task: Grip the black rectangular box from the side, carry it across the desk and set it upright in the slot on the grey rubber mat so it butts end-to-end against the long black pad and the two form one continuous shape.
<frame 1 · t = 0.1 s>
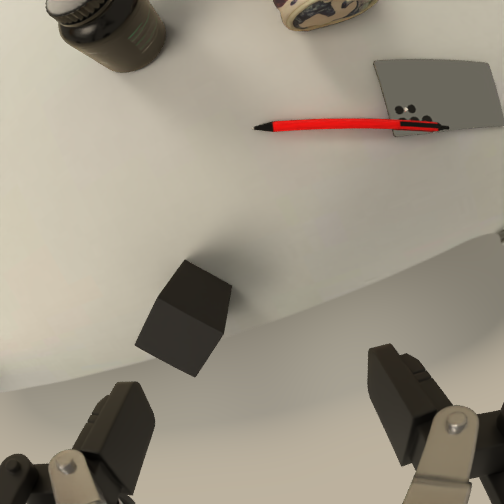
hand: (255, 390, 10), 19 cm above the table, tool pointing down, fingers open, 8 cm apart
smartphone: (447, 94, 24), on the table, touching pen
black rectangular box: (197, 292, 29), on the table
pen: (359, 124, 25), on the table, touching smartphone
supplement bottle: (134, 43, 23), on the table
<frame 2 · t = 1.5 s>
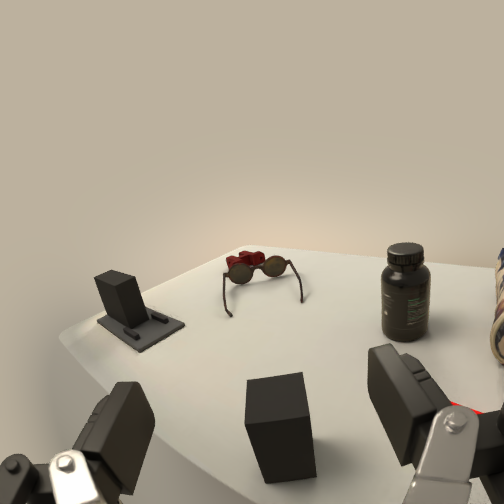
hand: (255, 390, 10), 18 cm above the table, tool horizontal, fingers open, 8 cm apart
pad dock: (147, 330, 54), on the table
black rectangular box: (289, 460, 24), on the table
eyeglasses: (262, 294, 61), on the table
supplement bottle: (404, 330, 39), on the table
bracket: (243, 266, 79), on the table
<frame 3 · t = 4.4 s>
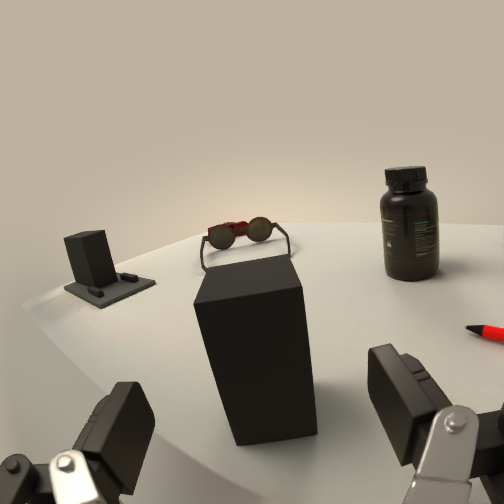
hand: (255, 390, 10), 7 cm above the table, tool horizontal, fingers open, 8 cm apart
pad dock: (114, 290, 47), on the table
black rectangular box: (274, 412, 17), on the table
eyeglasses: (245, 255, 55), on the table
supplement bottle: (412, 272, 34), on the table
bracket: (226, 238, 72), on the table
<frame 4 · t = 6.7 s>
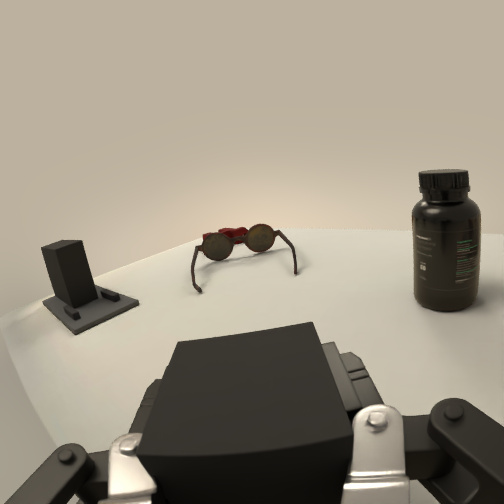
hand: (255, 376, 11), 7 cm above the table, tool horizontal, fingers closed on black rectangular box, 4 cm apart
pad dock: (93, 310, 39), on the table
eyeglasses: (244, 269, 47), on the table
supplement bottle: (445, 298, 26), on the table
bracket: (223, 246, 65), on the table
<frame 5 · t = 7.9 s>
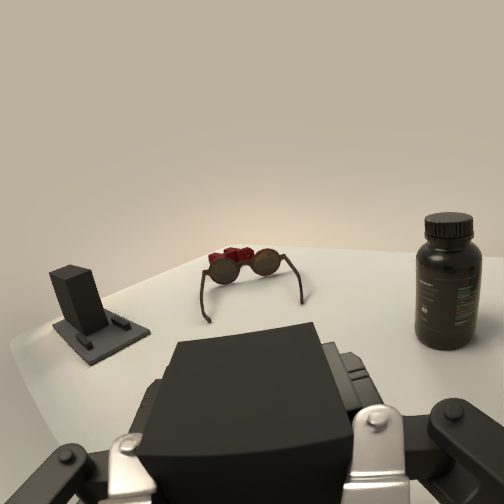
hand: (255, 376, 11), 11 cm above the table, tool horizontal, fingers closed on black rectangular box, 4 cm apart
pad dock: (105, 338, 41), on the table
eyeglasses: (251, 295, 48), on the table
supplement bottle: (444, 334, 27), on the table
bracket: (228, 266, 66), on the table
when the fingers open (8 cm above the table, at t = 16.9 s): black rectangular box stays where it is, resting on pad dock.
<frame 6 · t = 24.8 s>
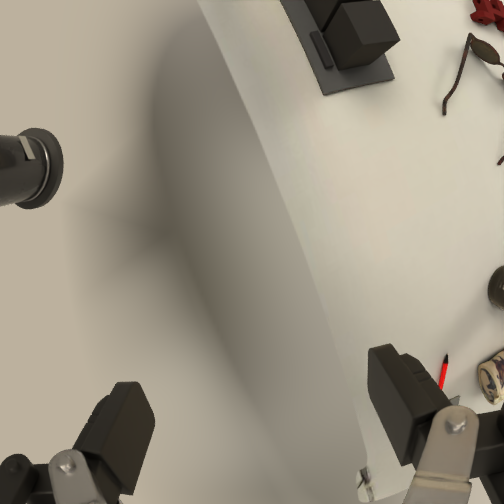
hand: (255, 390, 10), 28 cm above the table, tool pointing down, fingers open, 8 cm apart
pad dock: (343, 47, 31), on the table
black rectangular box: (346, 50, 31), point 1 cm above the table, touching pad dock
eyeglasses: (483, 101, 32), on the table
pen: (436, 394, 44), on the table, touching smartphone
supplement bottle: (499, 283, 39), on the table
bracket: (486, 14, 28), on the table
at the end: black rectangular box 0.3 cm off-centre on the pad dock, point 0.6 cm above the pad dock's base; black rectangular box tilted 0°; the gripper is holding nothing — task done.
